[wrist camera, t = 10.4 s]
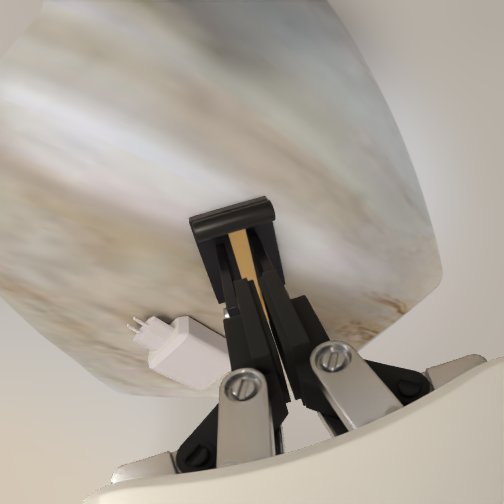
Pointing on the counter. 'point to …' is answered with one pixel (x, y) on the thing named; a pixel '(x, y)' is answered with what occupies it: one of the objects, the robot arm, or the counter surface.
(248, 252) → the tap lever
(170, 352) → the charger
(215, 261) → the bracket
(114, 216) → the counter surface
